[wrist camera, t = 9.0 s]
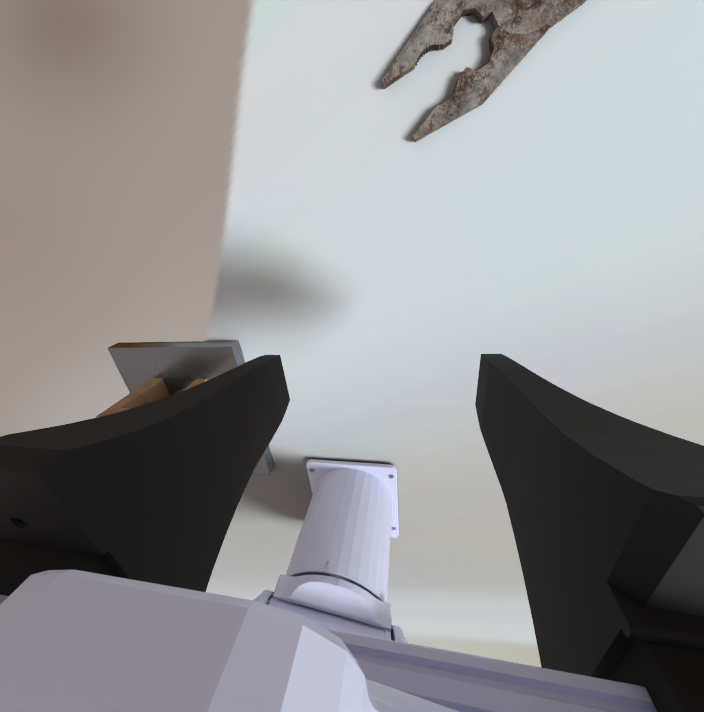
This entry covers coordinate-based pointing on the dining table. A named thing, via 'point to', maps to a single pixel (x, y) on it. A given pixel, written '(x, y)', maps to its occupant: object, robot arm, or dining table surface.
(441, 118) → the pliers
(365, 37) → the dining table surface
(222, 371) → the base plate
